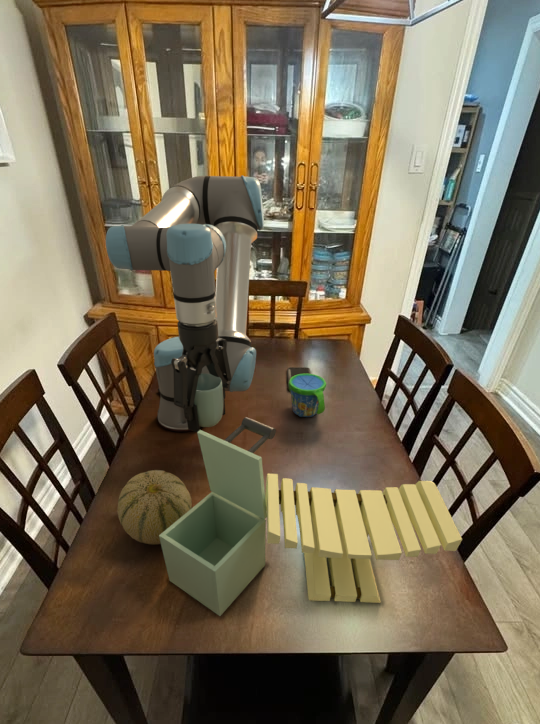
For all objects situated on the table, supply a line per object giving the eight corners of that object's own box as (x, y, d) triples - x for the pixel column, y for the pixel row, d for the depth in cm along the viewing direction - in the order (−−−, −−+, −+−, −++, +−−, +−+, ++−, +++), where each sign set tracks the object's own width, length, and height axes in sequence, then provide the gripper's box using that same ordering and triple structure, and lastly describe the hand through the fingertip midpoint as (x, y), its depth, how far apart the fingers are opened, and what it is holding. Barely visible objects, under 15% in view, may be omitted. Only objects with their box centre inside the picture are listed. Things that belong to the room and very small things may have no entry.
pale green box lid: (258, 460, 62) (292, 426, 68) (196, 432, 68) (232, 403, 73) (264, 519, 73) (293, 486, 78) (210, 490, 78) (240, 461, 83)
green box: (220, 616, 72) (215, 571, 64) (169, 580, 78) (158, 535, 70) (265, 565, 81) (265, 519, 73) (216, 536, 87) (212, 491, 79)
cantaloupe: (153, 499, 95) (142, 446, 86) (208, 519, 91) (202, 466, 81) (109, 544, 85) (90, 490, 76) (168, 569, 80) (156, 515, 71)
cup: (219, 434, 89) (215, 393, 82) (184, 429, 90) (178, 389, 84) (228, 414, 95) (226, 375, 88) (196, 410, 96) (191, 371, 90)
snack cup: (333, 421, 121) (337, 390, 115) (301, 428, 118) (303, 397, 112) (308, 396, 132) (311, 367, 126) (278, 403, 129) (279, 373, 123)
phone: (288, 387, 134) (287, 367, 146) (288, 391, 135) (287, 370, 147) (312, 388, 134) (309, 367, 146) (312, 391, 135) (309, 370, 146)
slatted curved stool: (403, 537, 87) (429, 472, 76) (426, 604, 75) (462, 539, 64) (261, 531, 86) (267, 465, 75) (261, 598, 74) (268, 531, 63)
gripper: (171, 342, 70) (186, 450, 84) (246, 308, 83) (248, 406, 97) (141, 332, 73) (161, 437, 87) (218, 301, 86) (224, 396, 100)
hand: (207, 421), depth 92 cm, fingers closed on cup, 8 cm apart
